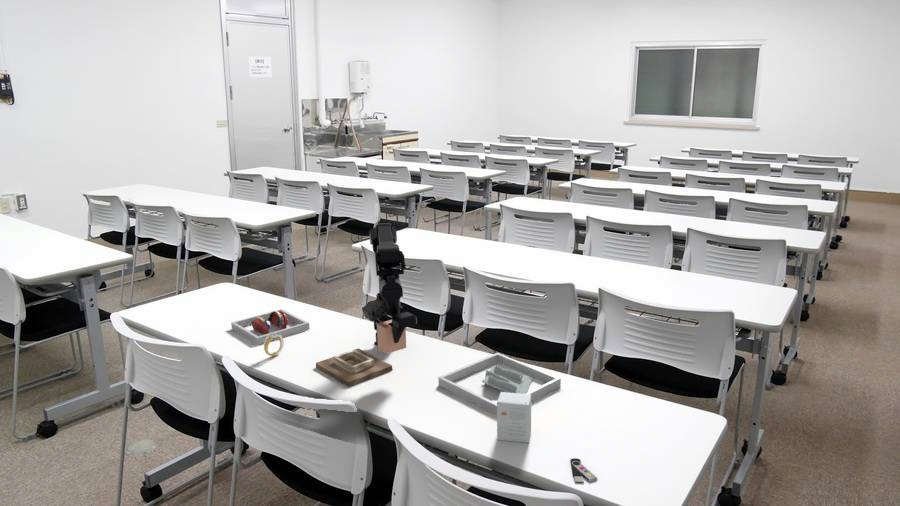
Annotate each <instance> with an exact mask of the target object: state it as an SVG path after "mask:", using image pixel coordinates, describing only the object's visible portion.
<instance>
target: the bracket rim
mask: <svg viewBox="0 0 900 506" xmlns="http://www.w3.org/2000/svg"><path fill="white" fill-rule="evenodd" d="M496 363H500V364H501V365H504V366H506V367H509V368H511V369H512V370H513V369H514V370H515V371H518V372H521V373H523V374H524V375H525V374H526V375H527V376H529V377H531V378H535V379H537V380H539V381H543V382H545V383H544V384H542V385H540V386H538V387H536V388H534V389H532V390H529V391H527V393H526V394H531V402H533V401H535V400H537V399H539V398H541V397H542V396H544V395H546V394H548V393H551V392H552V391H555V390H556V389H558V388H560V387H561V383H562V382H561V380H562V379H561V378H560V377H559V376H556V375H554V374H551V373H549V372H546V371H543V370H542V369H538V368H536V367H533V366H531V365H529V364H526V363H525V362H522V361H519V360H517V359H514V358H512V357H509V356H507V355H504V354H502V353H499V352H496V353H493V354H492V355H489V356H486V357H484V358H481V359H478V360H477V361H475V362H472V363H469V364H467V365H465V366H463V367H459V368H458V369H455V370H452V371H451V372H448V373H445V374H444V375H441V376H438V378H437V379H438V380H437V381H438V382H437V383H438V386H439V387H441V388H443V389H445V390H447V391H450V392H451V393H453V394H455V395H457V396H459V397H461V398H464V399H465V400H467V401H469V402H471V403H474V404H475V405H477V406H479V407H481V408H483V409H485V410H486V411H489V412H491V413H493V414H495V415H497V402H494V401H492V400H491V399H489V398H486V397H484V396H482V395H480V394H478V393H476V392H474V391H472V390H470V389H468V388H466V387H464V386H462V385H459V384H458V383H456V382H454V381H456V380H458V379H461V378H464V377H465V376H469V375H470V374H472V373H475V372H477V371H478V372H479V371H480V370H482V369H484V368H487V367H489V366H491V365H494V364H496Z"/></svg>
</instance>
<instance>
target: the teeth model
mask: <svg viewBox="0 0 900 506" xmlns="http://www.w3.org/2000/svg"><path fill="white" fill-rule="evenodd" d="M272 311H273V312H272ZM272 311H270V312H271V314H270V317H269V318H268V320H266V321H265V319H263V318H262V317H257V318H256V319H255V320H254V321H252V322H251V324H252V325H251V326H252V329H253V330H254V331H255V332H258V333H260V334H261V335H265V334H269V333H270V329H271V325H273V326H277V327H278V328H279V329H280V330H282V329H286V328H288V320H287V316H286V314H285V313H284V312H277V311H276V310H272ZM267 321H268V322H269V323H270V324H271V325H270V324H269V323H268V322H267Z"/></svg>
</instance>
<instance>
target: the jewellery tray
mask: <svg viewBox="0 0 900 506" xmlns="http://www.w3.org/2000/svg"><path fill="white" fill-rule="evenodd" d="M273 311H274V310H272V311H269V312H265V313H262V314H258V315H254V316H251V317H246V318H242V319H239V320H235V321H232V322H230V324H231V330H233V331H235V332H236V333H238V334H239V335H241V336H242V337H244V338H246V339H247V340H249V341H251V343H254V344H255V345H257V346H259V345H264V342H265V339H266V337H267V336H268V335H269V334H270V333H271V332H272V333H275V332H277V334H276V335H281V336H282V338H283V339H284V338H285V337H289V336H292V334H293V335H296V334H299V333H302V332H306V331H309V330H310V322H308V321H307V320H304V319H303V318H301V317H298V316H297V315H295V314H292V313H291V312H288V311H287V310H285V309H282V308H279V309H277V310H275V311H277V312H284V313H285V314H286V316H287V319H288V320H287V321H289V320H290V321H289V322H291V321H292V322H291V323H293V322H294V323H293V324H295V323H296V324H298V325H296V324H295V325H294V326H290V327H287V328H286V329H280V330H276V331H271V332H269V334H265V335H264V334H261V335H259V336H258V335H257V334H255V333H253V332H252V331H250V330H248V329H246V328H245V327H249V326H252V325H251V322H252V321H254V320H255V319H256V318H257V317H262V318H263V319H265V320H266V321H268V318H269V317H270V314H271V312H273ZM308 329H309V330H308ZM305 330H306V331H305ZM295 333H296V334H295ZM269 339H270V338H269ZM269 339H268V340H269ZM275 340H279V339H278V338H277V337H275V338H273V340H272V341H275ZM272 341H271V342H272Z"/></svg>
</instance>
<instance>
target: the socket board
mask: <svg viewBox="0 0 900 506" xmlns="http://www.w3.org/2000/svg"><path fill="white" fill-rule="evenodd" d="M315 368H316V369H318V370H319V371H322V372H323V373H324V374H327V375H328V376H330V377H331V378H334V379H335V380H337V381H338V382H340V383H341V384H343V385H345V386H346V387H352V386H354V385H357V384H359V383H360V384H361V383H362V382H364V381H365V382H366V381H367V380H370V379H372V378H375V377H378V376H380V375H383V374H385V373H388V372H390V371H391V372H392V371H393V365H392V364H390V363H388V362H386V361H384V360H382V359H380V358H378V357H376V356H374V355H373V354H370V353H368V352H366V351H364V350H362V349H360V348H359V347H357V348H355V349H352V350H348V351H346V352H343V353H340V354H337V355H335V356H331V357H329V358H326V359H324V360H320V361H317V362H315Z"/></svg>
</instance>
